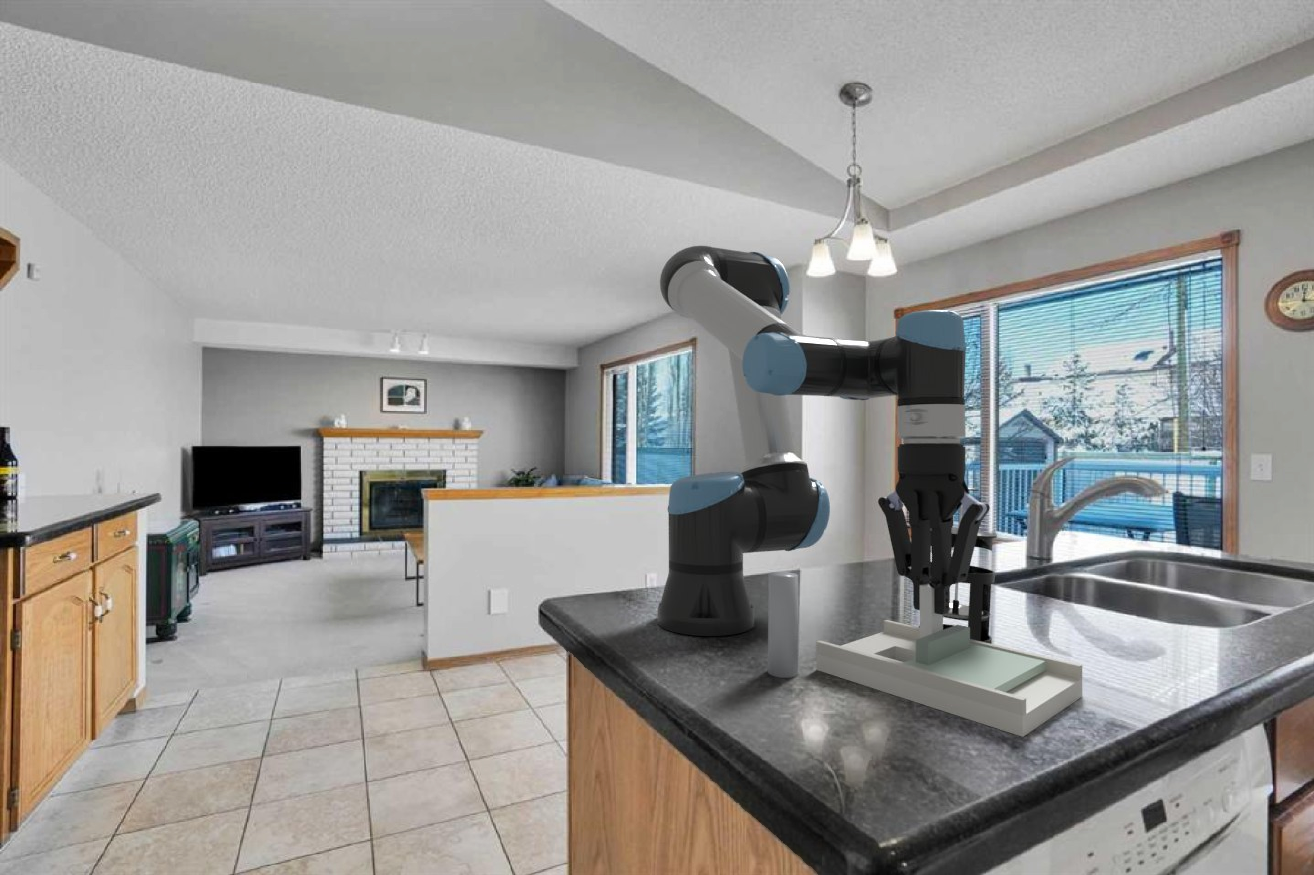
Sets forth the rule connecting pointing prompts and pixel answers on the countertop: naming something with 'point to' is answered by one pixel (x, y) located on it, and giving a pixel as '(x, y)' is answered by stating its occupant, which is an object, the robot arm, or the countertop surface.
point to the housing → (952, 680)
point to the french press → (974, 590)
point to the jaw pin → (783, 624)
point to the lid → (973, 660)
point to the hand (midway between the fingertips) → (931, 639)
